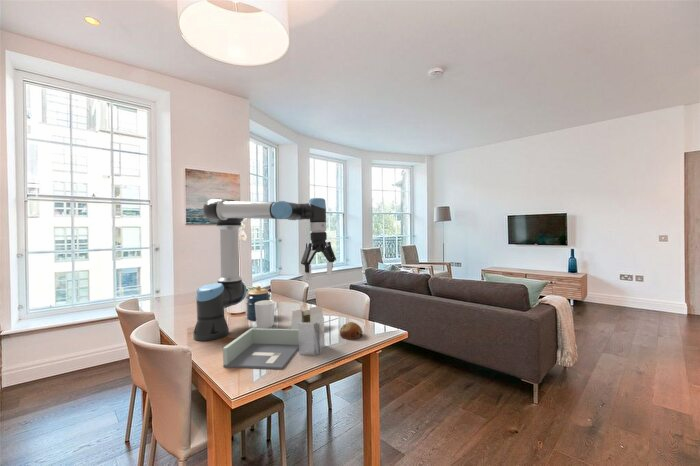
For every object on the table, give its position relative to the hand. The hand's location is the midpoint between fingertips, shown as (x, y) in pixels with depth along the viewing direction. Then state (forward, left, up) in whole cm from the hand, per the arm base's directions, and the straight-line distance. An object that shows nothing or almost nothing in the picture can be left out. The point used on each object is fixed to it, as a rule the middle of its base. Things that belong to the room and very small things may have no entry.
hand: (319, 277), depth 141 cm
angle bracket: (+1, -18, -26) cm, 32 cm away
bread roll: (+15, -1, -27) cm, 30 cm away
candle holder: (-31, +10, -27) cm, 42 cm away
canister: (-41, +25, -27) cm, 55 cm away
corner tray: (-16, -25, -26) cm, 40 cm away
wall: (-9, +8, -27) cm, 29 cm away
